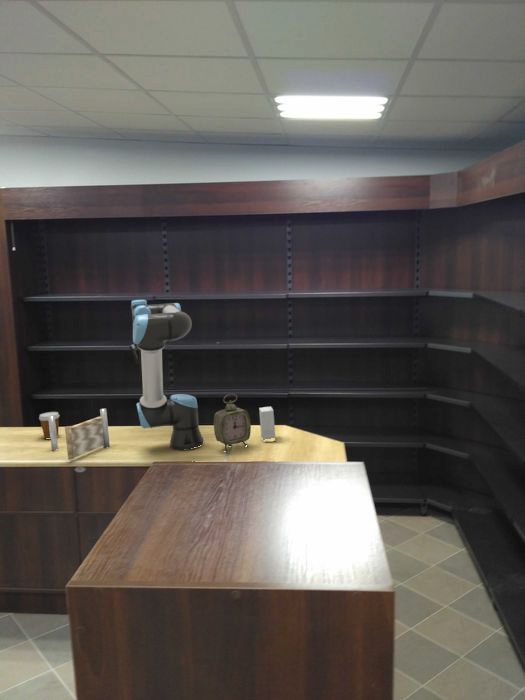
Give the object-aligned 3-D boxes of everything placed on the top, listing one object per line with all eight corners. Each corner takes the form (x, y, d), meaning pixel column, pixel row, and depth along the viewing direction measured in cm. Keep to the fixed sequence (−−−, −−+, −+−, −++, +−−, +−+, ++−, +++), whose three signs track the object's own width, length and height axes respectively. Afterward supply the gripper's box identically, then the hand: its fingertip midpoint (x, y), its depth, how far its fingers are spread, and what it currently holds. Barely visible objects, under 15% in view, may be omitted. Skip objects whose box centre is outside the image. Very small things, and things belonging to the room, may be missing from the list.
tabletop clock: (223, 455, 234) (220, 398, 230) (213, 449, 241) (210, 394, 237) (251, 447, 242) (249, 392, 238) (241, 442, 249) (238, 389, 245)
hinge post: (110, 445, 253) (106, 408, 250) (109, 447, 250) (105, 409, 247) (104, 446, 253) (100, 408, 250) (102, 448, 250) (99, 410, 247)
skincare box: (275, 442, 248) (274, 410, 245) (262, 443, 247) (261, 411, 245) (273, 436, 256) (271, 405, 254) (260, 437, 255) (258, 406, 253)
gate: (101, 444, 250) (98, 415, 248) (105, 445, 249) (102, 415, 247) (66, 459, 233) (63, 427, 231) (70, 459, 232) (67, 428, 230)
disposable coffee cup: (48, 442, 263) (45, 417, 261) (37, 438, 269) (34, 415, 267) (65, 436, 270) (63, 413, 268) (54, 433, 276) (52, 410, 274)
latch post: (59, 448, 252) (55, 415, 249) (57, 450, 249) (53, 417, 247) (52, 449, 252) (49, 415, 249) (50, 451, 249) (47, 417, 247)
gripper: (155, 329, 274) (159, 375, 277) (129, 330, 273) (133, 377, 277) (153, 331, 266) (157, 378, 270) (126, 332, 266) (130, 380, 269)
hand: (145, 377), depth 273 cm, fingers closed
